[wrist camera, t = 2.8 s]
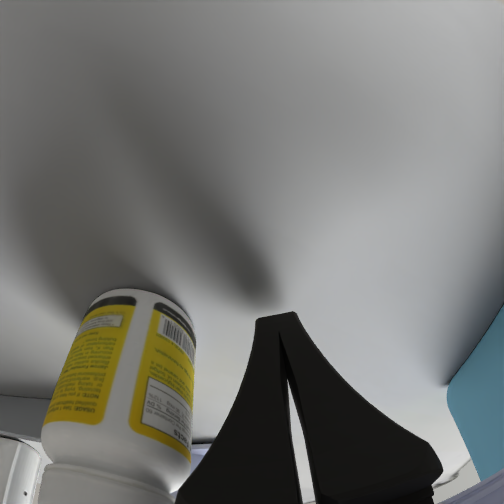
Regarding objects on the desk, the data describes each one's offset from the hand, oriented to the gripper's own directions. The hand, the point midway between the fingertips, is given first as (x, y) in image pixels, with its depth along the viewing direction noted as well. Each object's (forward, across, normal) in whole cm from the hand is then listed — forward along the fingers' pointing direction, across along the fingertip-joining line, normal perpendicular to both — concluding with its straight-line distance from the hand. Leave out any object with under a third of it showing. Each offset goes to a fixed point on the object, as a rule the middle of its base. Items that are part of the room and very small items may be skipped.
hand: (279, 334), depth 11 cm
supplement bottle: (+2, +6, 0) cm, 6 cm away
